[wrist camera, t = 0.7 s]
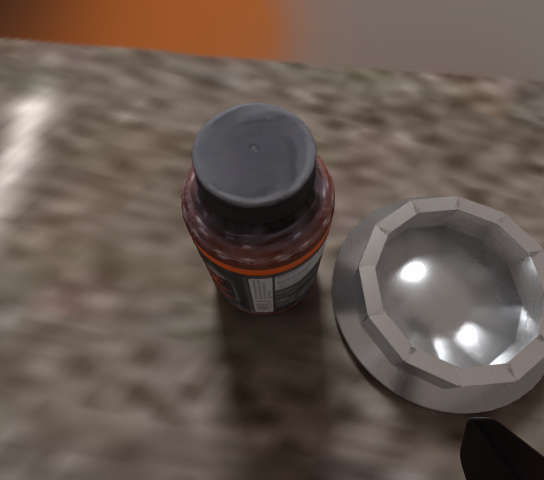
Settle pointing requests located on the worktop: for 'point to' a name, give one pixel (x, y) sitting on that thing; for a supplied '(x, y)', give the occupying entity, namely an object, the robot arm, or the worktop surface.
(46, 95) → the worktop surface
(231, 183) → the supplement bottle
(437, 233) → the faceted metal ring
